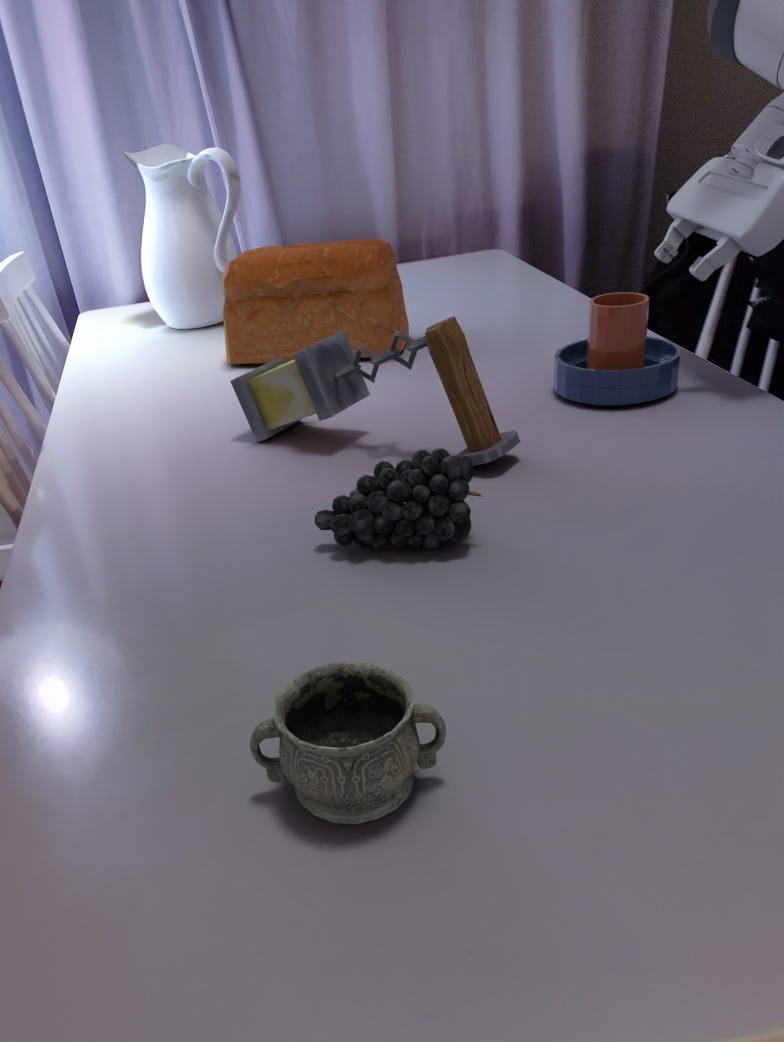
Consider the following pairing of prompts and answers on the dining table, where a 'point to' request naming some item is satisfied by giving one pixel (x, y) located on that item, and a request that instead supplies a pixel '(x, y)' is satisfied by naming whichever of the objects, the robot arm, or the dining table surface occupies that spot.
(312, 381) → the lantern
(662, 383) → the bowl
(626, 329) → the cup
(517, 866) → the dining table surface
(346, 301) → the bread
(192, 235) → the pitcher
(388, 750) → the vessel
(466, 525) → the fruit
